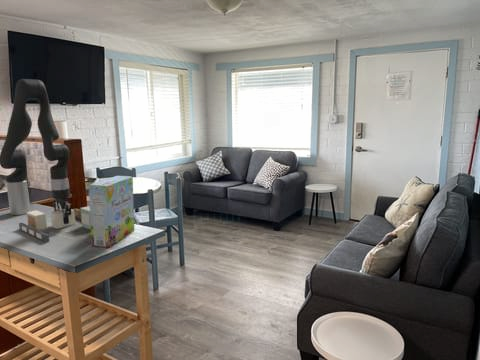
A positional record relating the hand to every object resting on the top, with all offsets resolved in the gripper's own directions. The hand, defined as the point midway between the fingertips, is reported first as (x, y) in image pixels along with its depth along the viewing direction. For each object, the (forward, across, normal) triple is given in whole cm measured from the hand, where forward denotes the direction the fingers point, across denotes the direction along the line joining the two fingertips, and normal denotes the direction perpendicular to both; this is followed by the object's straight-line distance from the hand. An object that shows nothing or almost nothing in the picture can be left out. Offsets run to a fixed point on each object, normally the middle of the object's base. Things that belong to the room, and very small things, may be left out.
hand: (63, 222), depth 172 cm
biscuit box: (+1, 0, 0) cm, 1 cm away
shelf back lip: (+1, +3, +11) cm, 11 cm away
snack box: (+2, +34, +5) cm, 34 cm away
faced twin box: (+2, -7, -9) cm, 12 cm away
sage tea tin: (+2, +12, +7) cm, 14 cm away
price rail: (+1, +3, -15) cm, 15 cm away
